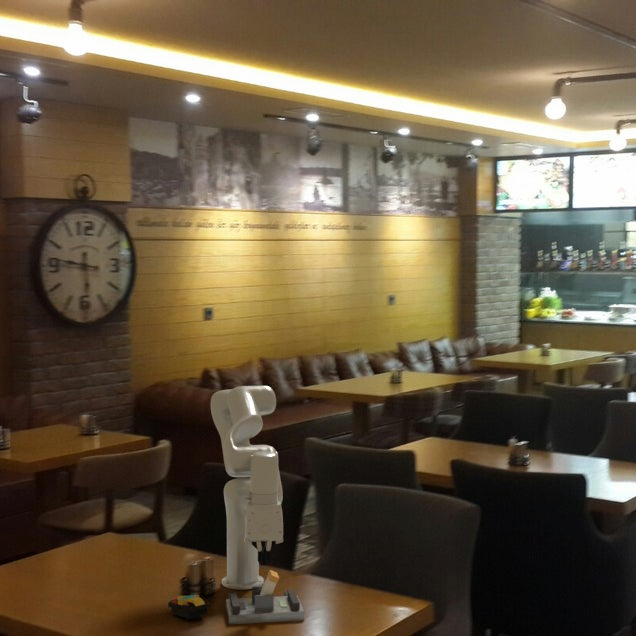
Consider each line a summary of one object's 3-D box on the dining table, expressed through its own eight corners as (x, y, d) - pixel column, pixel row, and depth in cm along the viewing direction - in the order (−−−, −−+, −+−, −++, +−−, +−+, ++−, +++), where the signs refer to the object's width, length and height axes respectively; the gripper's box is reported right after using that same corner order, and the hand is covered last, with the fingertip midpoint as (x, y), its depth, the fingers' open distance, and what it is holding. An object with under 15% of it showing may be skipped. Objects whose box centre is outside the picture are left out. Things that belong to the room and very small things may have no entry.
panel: (225, 607, 265) (225, 584, 265) (297, 604, 268) (297, 581, 268) (229, 624, 252) (229, 600, 252) (304, 620, 255) (304, 596, 255)
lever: (256, 598, 263) (269, 569, 263) (264, 601, 263) (276, 572, 263) (259, 606, 257) (272, 575, 257) (266, 609, 257) (279, 578, 257)
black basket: (184, 612, 265) (183, 591, 265) (212, 617, 255) (210, 596, 256) (165, 617, 261) (163, 596, 261) (191, 622, 251) (190, 601, 251)
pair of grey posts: (228, 599, 272) (228, 585, 271) (290, 596, 275) (290, 581, 274) (233, 622, 254) (233, 606, 254) (299, 618, 257) (299, 602, 256)
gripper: (237, 502, 254) (237, 569, 256) (293, 500, 257) (292, 567, 258) (235, 495, 262) (234, 560, 263) (289, 493, 264) (288, 558, 265)
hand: (263, 564), depth 260 cm, fingers closed
